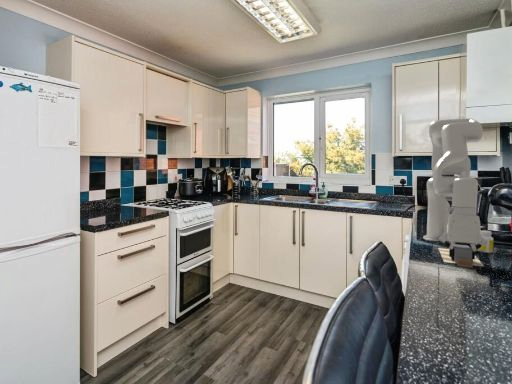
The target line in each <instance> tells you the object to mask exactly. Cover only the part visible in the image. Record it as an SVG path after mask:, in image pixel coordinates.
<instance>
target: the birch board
mask: <svg viewBox="0 0 512 384" xmlns="http://www.w3.org/2000/svg"><path fill="white" fill-rule="evenodd" d="M437 249H438V251H439V253H440V256H441V258H442V261H443V262H444V263H450V264H457V262H455V261H454V260H452V259H451V257H449V248H444V247H443V248H441V247H438V248H437ZM472 266H476V267H485V266H484V264H483V263H482V261H481V260H479V258H478V257H477V256H476V255H475V259H473V262H472Z"/></svg>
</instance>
